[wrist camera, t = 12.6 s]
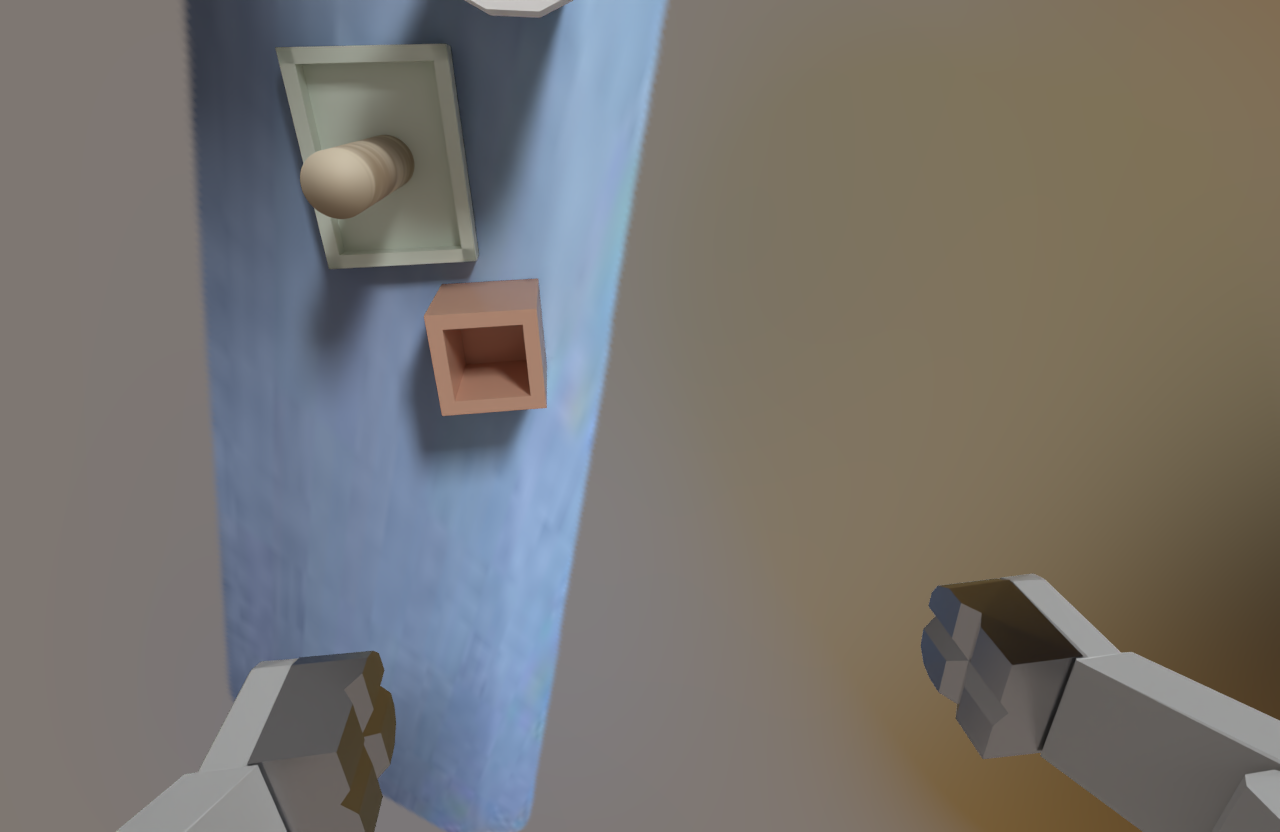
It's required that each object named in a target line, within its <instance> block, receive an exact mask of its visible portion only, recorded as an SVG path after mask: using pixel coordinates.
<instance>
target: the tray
mask: <svg viewBox="0 0 1280 832" xmlns="http://www.w3.org/2000/svg"><path fill="white" fill-rule="evenodd" d="M275 48H276V52H277V57H278V61H279V65H280V69H281V73H282V77H283V81H284V85H285V90H286V94H287V98H288V102H289V106H290V110H291V114H292V118H293V123H294V127H295V131H296V135H297V139H298V143H299V147H300V151H301V156H302V160H303V164H304V162H305V161H306V159H307V158H308V157H309V156H310V155H312V154H313V153H315V152H317V151H320V150H324V149H328V148H332V147H336V146H340V145H344V144H348V143H351V142H355V141H359V140H363V139H367V138H371V137H375V136H379V135H391V136H394V137H396V138H398V139H400V140H401V141H403V142H404V143H405V144H406V145H407V146H408V148H409V149H410V151H411V153H412V155H413V158H414V172H413V175H412V177H411V179H410V180H409V181H408V182H407V183H406V184H405V185H403V186H401V187H400V188H398V189H397V190H395V191H394V192H392V193H391V194H389V195H388V196H386V197H384V198H383V199H381V200H380V201H378V202H377V203H375V204H374V205H372V206H371V207H369V208H367V209H366V210H364V211H363V212H361V213H360V214H358V215H356V216H354V217H352V218H348V219H335V218H331V217H328V216H326V215H324V214H322V213H320V212H319V211H317V210H316V209H315V208H314V209H315V213H316V217H317V222H318V226H319V230H320V234H321V238H322V242H323V246H324V250H325V255H326V259H327V263H328V267H329V269H343V268H361V267H379V266H397V265H415V264H433V263H451V262H469V261H477V259H478V256H479V250H478V243H477V236H476V229H475V221H474V214H473V207H472V199H471V192H470V185H469V178H468V170H467V163H466V156H465V148H464V141H463V134H462V127H461V119H460V112H459V105H458V97H457V90H456V83H455V76H454V68H453V61H452V54H451V46H450V45H448V44H409V45H364V46H319V47H275Z"/></svg>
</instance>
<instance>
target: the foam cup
mask: <svg viewBox="0 0 1280 832" xmlns="http://www.w3.org/2000/svg"><path fill="white" fill-rule="evenodd" d="M465 1H466V2H468V3H470V4H472V5H473V6H475V7H477V8H478V9H480V10H482V11H484V12H485V13H487V14H489V15H491V16H512V17H534V18H540V17H542V16H544V15H546V14H548V13H550V12H552V11H554V10H556V9H558V8H560V7H562V6H564V5H565V4H567V3H569V2H571V1H573V0H465Z"/></svg>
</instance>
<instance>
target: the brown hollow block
mask: <svg viewBox="0 0 1280 832" xmlns="http://www.w3.org/2000/svg"><path fill="white" fill-rule="evenodd" d="M424 320H425V325H426V330H427V336H428V341H429V347H430V352H431V358H432V363H433V369H434V374H435V380H436V385H437V391H438V396H439V402H440V407H441V413H442V416H449V415H462V414H474V413H487V412H500V411H512V410H525V409H538V408H547V362H546V352H545V342H544V332H543V322H542V311H541V301H540V291H539V281H538V279H523V280H505V281H488V282H471V283H454V284H442V285H441V286H440V288H439V290H438V292H437V294H436V295H435V297H434V299H433V301H432V302H431V304H430V306H429V308H428V309H427V311H426V313H425V315H424Z"/></svg>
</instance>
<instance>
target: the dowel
mask: <svg viewBox="0 0 1280 832" xmlns="http://www.w3.org/2000/svg"><path fill="white" fill-rule="evenodd" d="M413 172H414V158H413V155H412V153H411V151H410V149H409V148H408V146H407V145H406V144H405V143H404V142H403V141H401V140H400V139H398V138H396V137H394V136H391V135H379V136H375V137H371V138H367V139H363V140H359V141H355V142H351V143H348V144H344V145H340V146H336V147H332V148H328V149H324V150H320V151H317V152H315V153H313V154H312V155H310V156H309V157H308V158H307V159H306V161H305V162H304V164H303V166H302V168H301V173H300V183H301V188H302V191H303V193H304V195H305V197H306V199H307V200H308V202H309V203H310V204H311V205H312V206H313V207H314V208H315V209H316V210H317V211H319V212H320V213H322V214H324V215H326V216H328V217H331V218H335V219H348V218H352V217H354V216H356V215H358V214H360V213H361V212H363V211H364V210H366V209H367V208H369V207H371V206H372V205H374V204H375V203H377V202H378V201H380V200H381V199H383V198H384V197H386V196H388V195H389V194H391V193H392V192H394V191H395V190H397V189H398V188H400V187H401V186H403V185H405V184H406V183H407V182H408V181H409V180H410V179H411V177H412V175H413Z"/></svg>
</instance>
